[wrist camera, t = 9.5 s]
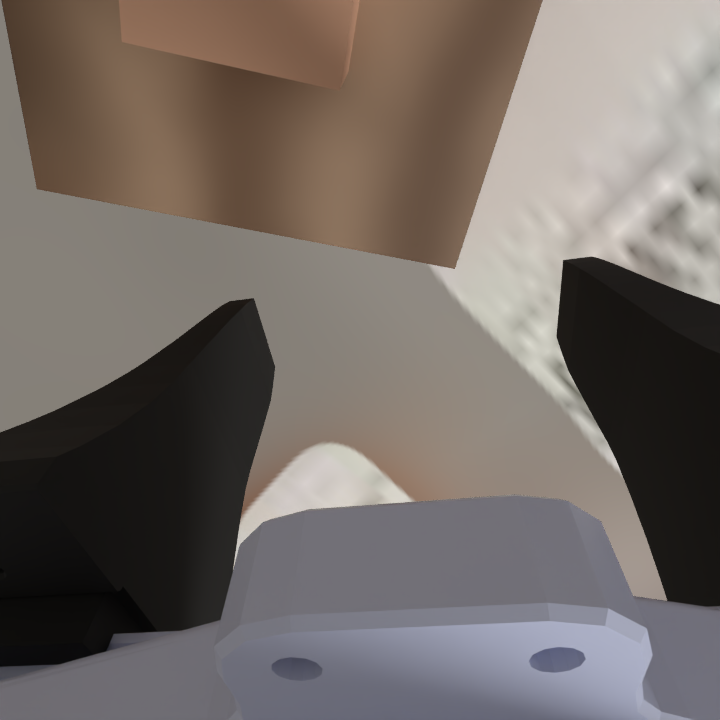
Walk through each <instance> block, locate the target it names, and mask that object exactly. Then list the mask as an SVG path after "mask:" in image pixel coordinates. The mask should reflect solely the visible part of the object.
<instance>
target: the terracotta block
mask: <svg viewBox="0 0 720 720" xmlns="http://www.w3.org/2000/svg"><path fill="white" fill-rule="evenodd" d="M358 7H359V0H119V11H120V25H121V39H122V42H124V43H128V44H133V45H137V46H142V47H146V48H150V49H155V50H159V51H164V52H168V53H173V54H177V55H182V56H186V57H191V58H195V59H200V60H204V61H209V62H213V63H218V64H222V65H227V66H231V67H236V68H240V69H245V70H249V71H253V72H258V73H262V74H267V75H271V76H276V77H280V78H285V79H289V80H294V81H298V82H303V83H307V84H312V85H316V86H321V87H325V88H330V89H334V90H339V91H340V89H341V87H342V84H343V82H344V80H345V78H346V76H347V74H348V70H349V64H350V58H351V51H352V45H353V39H354V32H355V26H356V19H357V13H358Z"/></svg>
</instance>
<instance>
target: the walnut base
mask: <svg viewBox="0 0 720 720" xmlns="http://www.w3.org/2000/svg"><path fill="white" fill-rule="evenodd" d="M541 3H542V0H359V7H358V13H357V19H356V26H355V32H354V39H353V45H352V51H351V58H350V64H349V70H348V74H347V76H346V78H345V80H344V82H343V84H342V87H341V89H340V91H339V90H334V89H330V88H325V87H321V86H316V85H312V84H307V83H303V82H298V81H294V80H289V79H285V78H280V77H276V76H271V75H267V74H262V73H258V72H253V71H249V70H245V69H240V68H236V67H231V66H227V65H222V64H218V63H213V62H209V61H204V60H200V59H195V58H191V57H186V56H182V55H177V54H173V53H168V52H164V51H159V50H155V49H150V48H146V47H142V46H137V45H133V44H128V43H124V42H122V39H121V25H120V11H119V0H2V6H3V11H4V16H5V21H6V26H7V32H8V37H9V43H10V48H11V53H12V59H13V64H14V69H15V75H16V80H17V85H18V91H19V96H20V101H21V106H22V112H23V117H24V122H25V128H26V133H27V138H28V144H29V149H30V154H31V160H32V165H33V170H34V176H35V180H36V187H37V189H40V190H45V191H50V192H55V193H61V194H66V195H71V196H76V197H81V198H87V199H92V200H98V201H102V202H108V203H113V204H118V205H124V206H128V207H134V208H139V209H144V210H149V211H155V212H160V213H165V214H171V215H176V216H181V217H186V218H192V219H197V220H202V221H207V222H213V223H217V224H223V225H228V226H233V227H238V228H244V229H249V230H254V231H259V232H265V233H270V234H275V235H280V236H286V237H291V238H296V239H301V240H307V241H312V242H317V243H322V244H328V245H333V246H338V247H343V248H349V249H354V250H359V251H364V252H369V253H375V254H380V255H385V256H390V257H396V258H401V259H406V260H411V261H417V262H422V263H427V264H432V265H438V266H443V267H448V268H453V269H455V267H456V263H457V260H458V257H459V254H460V251H461V248H462V245H463V242H464V239H465V236H466V233H467V230H468V227H469V224H470V221H471V218H472V215H473V211H474V208H475V205H476V202H477V199H478V196H479V193H480V190H481V187H482V184H483V181H484V178H485V175H486V172H487V169H488V166H489V163H490V159H491V156H492V153H493V150H494V147H495V144H496V141H497V138H498V135H499V132H500V129H501V126H502V123H503V120H504V117H505V114H506V111H507V107H508V104H509V101H510V98H511V95H512V92H513V89H514V86H515V83H516V80H517V77H518V74H519V71H520V68H521V65H522V62H523V59H524V55H525V52H526V49H527V46H528V43H529V40H530V37H531V34H532V31H533V28H534V25H535V22H536V19H537V16H538V13H539V10H540V7H541Z"/></svg>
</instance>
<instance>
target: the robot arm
mask: <svg viewBox="0 0 720 720" xmlns="http://www.w3.org/2000/svg"><path fill="white" fill-rule="evenodd" d="M557 339H558V342H559V345H560V348H561V351H562V354H563V357H564V360H565V363H566V365H567V368H568V371H569V373H570V374H571V376H572V378H573V380H574V382H575V384H576V386H577V388H578V389H579V391H580V393H581V395H582V397H583V399H584V401H585V402H586V404H587V406H588V408H589V410H590V411H591V413H592V415H593V417H594V419H595V420H596V422H597V424H598V426H599V428H600V429H601V431H602V433H603V435H604V437H605V439H606V440H607V442H608V444H609V446H610V448H611V450H612V452H613V454H614V456H615V458H616V460H617V463H618V465H619V468H620V470H621V473H622V475H623V478H624V480H625V483H626V485H627V488H628V490H629V493H630V495H631V498H632V500H633V503H634V506H635V508H636V511H637V514H638V517H639V519H640V522H641V525H642V527H643V530H644V533H645V535H646V538H647V541H648V544H649V546H650V549H651V553H652V556H653V559H654V561H655V564H656V567H657V570H658V573H659V576H660V579H661V582H662V585H663V588H664V591H665V594H666V598H667V601H663V600H657V599H649V598H643V597H636V596H633V595H632V592H631V590H630V588H629V586H628V583H627V581H626V579H625V576H624V574H623V571H622V569H621V567H620V564H619V562H618V560H617V557H616V555H615V553H614V551H613V548H612V546H611V543H610V541H609V539H608V536H607V534H606V532H605V530H604V527H603V525H602V523H601V521H599V520H598V519H596V518H595V517H593V516H591V515H590V514H588V513H587V512H585V511H583V510H581V509H580V508H578V507H577V506H575V505H573V504H572V503H570V502H568V501H566V500H561V499H554V498H545V497H533V496H524V495H502V496H490V497H474V498H461V499H447V500H433V501H420V502H405V503H392V504H378V505H364V506H350V507H336V508H323V509H309V510H305V511H301V512H297V513H293V514H289V515H286V516H282V517H278V518H274V519H270V520H268V521H265V522H263V523H262V524H261V525H260V526H259V527H258V528H257V529H256V530H254V531H253V532H252V533H251V534H250V535H249V536H248V537H247V538H246V539H245V540H244V541H243V542H242V543H241V544H240V547H239V550H238V554H237V558H236V562H235V566H234V558H235V551H236V545H237V538H238V531H239V524H240V518H241V512H242V506H243V501H244V495H245V489H246V485H247V481H248V477H249V473H250V469H251V466H252V463H253V459H254V456H255V453H256V449H257V446H258V442H259V439H260V436H261V432H262V429H263V426H264V422H265V419H266V415H267V412H268V408H269V404H270V401H271V395H272V388H273V380H274V371H275V365H274V362H273V359H272V355H271V352H270V349H269V346H268V343H267V339H266V336H265V333H264V330H263V326H262V323H261V320H260V317H259V314H258V310H257V307H256V304H255V301H254V299H244V300H236V301H229V302H228V303H226V304H224V305H222V306H221V307H219V308H218V309H216V310H215V311H213V312H212V313H211V314H209V315H208V316H207V317H206V318H204V319H203V320H201V321H200V322H199V323H198V324H196V325H195V326H194V327H192V328H191V329H190V330H188V331H187V332H186V333H184V334H183V335H182V336H181V337H179V338H178V339H177V340H175V341H174V342H173V343H171V344H170V345H168V346H167V347H165V348H164V349H162V350H161V351H160V352H158V353H157V354H155V355H154V356H153V357H151V358H150V359H148V360H147V361H146V362H144V363H142V364H141V365H139V366H138V367H136V368H135V369H133V370H131V371H130V372H128V373H127V374H125V375H123V376H122V377H120V378H118V379H116V380H114V381H113V382H111V383H109V384H108V385H106V386H104V387H102V388H100V389H98V390H96V391H94V392H92V393H90V394H88V395H86V396H84V397H82V398H80V399H78V400H76V401H74V402H72V403H70V404H68V405H66V406H64V407H62V408H59V409H57V410H55V411H53V412H51V413H48V414H46V415H43V416H41V417H39V418H36V419H34V420H32V421H29V422H26V423H24V424H21V425H19V426H16V427H14V428H11V429H9V430H6V431H3V432H1V433H0V720H720V305H719V304H716V303H713V302H710V301H707V300H704V299H701V298H699V297H696V296H693V295H690V294H687V293H684V292H682V291H679V290H676V289H674V288H671V287H669V286H666V285H664V284H661V283H659V282H656V281H654V280H651V279H649V278H647V277H644V276H642V275H639V274H637V273H635V272H632V271H630V270H627V269H625V268H623V267H620V266H618V265H615V264H613V263H610V262H608V261H605V260H602V259H599V258H595V257H585V258H577V259H569V260H563V270H562V281H561V293H560V304H559V315H558V327H557ZM233 566H234V570H233Z"/></svg>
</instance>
